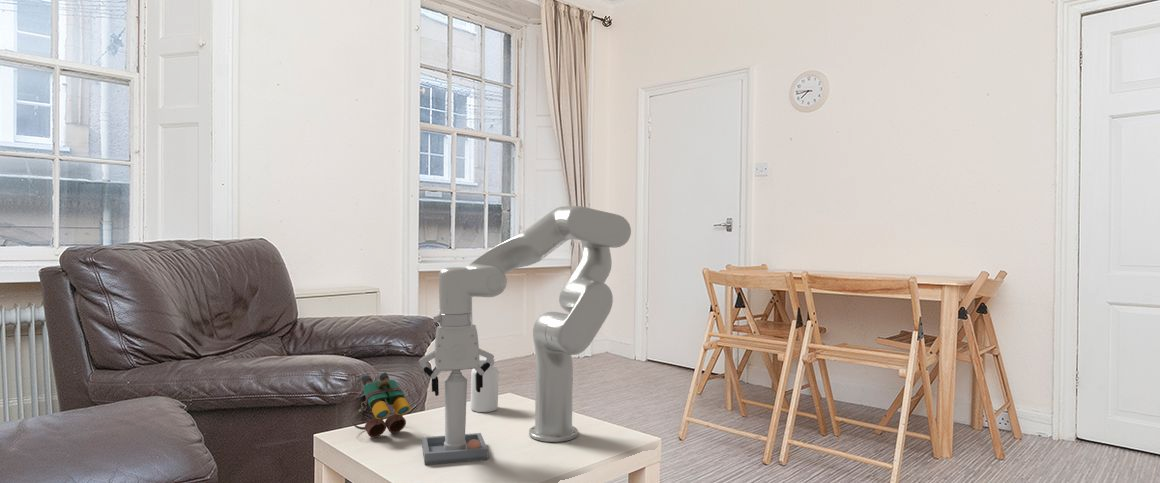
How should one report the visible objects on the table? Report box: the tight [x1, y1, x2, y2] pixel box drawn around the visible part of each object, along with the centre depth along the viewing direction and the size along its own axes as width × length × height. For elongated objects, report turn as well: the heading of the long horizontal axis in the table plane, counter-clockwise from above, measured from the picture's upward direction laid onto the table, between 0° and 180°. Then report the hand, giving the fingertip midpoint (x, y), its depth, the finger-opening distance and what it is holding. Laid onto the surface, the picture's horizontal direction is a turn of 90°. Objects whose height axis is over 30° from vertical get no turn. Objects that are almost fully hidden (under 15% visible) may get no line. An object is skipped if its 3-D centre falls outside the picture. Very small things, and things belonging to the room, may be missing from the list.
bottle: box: [444, 370, 468, 451], centre depth 153 cm, size 5×5×25 cm
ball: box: [467, 439, 481, 449], centre depth 151 cm, size 3×3×3 cm
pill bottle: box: [470, 356, 499, 413], centre depth 191 cm, size 8×8×15 cm
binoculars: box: [350, 372, 411, 438], centre depth 169 cm, size 14×14×15 cm
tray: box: [421, 432, 489, 466], centre depth 153 cm, size 12×14×2 cm
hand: (457, 392), depth 153 cm, fingers open, 9 cm apart
